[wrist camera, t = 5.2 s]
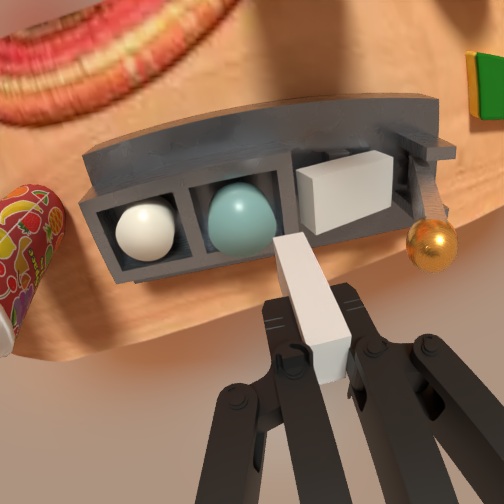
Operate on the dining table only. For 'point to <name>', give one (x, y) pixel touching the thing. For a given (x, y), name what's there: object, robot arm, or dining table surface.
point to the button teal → (240, 220)
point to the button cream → (147, 228)
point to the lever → (428, 221)
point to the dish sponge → (485, 85)
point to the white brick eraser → (344, 190)
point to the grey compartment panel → (254, 170)
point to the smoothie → (25, 252)
